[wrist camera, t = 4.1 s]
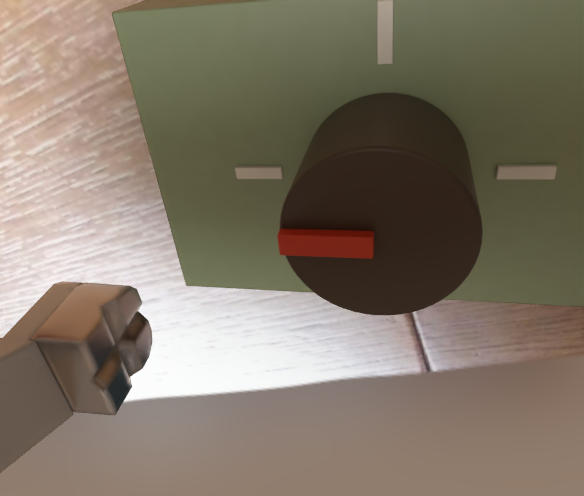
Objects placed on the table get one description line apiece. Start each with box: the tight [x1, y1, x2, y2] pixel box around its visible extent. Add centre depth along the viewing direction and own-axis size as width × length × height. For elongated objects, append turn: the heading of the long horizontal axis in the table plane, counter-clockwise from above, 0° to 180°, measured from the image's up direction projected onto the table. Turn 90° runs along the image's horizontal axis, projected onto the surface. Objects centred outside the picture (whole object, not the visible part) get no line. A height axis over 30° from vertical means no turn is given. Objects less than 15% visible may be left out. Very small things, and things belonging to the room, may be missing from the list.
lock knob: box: [277, 93, 483, 315], centre depth 12 cm, size 4×4×4 cm
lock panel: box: [112, 0, 584, 307], centre depth 15 cm, size 14×9×3 cm, turn 96°
